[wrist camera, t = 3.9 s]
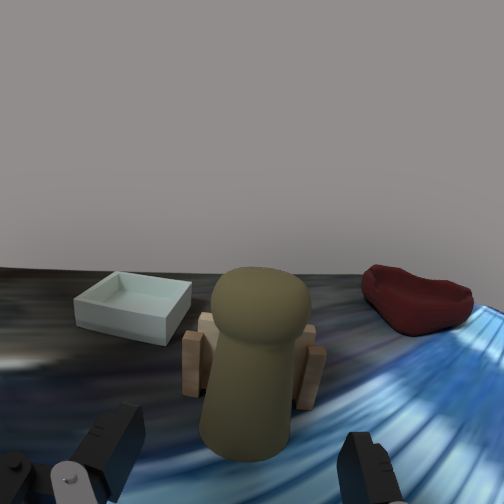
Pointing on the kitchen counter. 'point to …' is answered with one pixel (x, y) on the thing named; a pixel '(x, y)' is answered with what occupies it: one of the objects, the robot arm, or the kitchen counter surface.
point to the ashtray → (415, 300)
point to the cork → (253, 362)
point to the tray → (134, 307)
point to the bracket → (203, 349)
